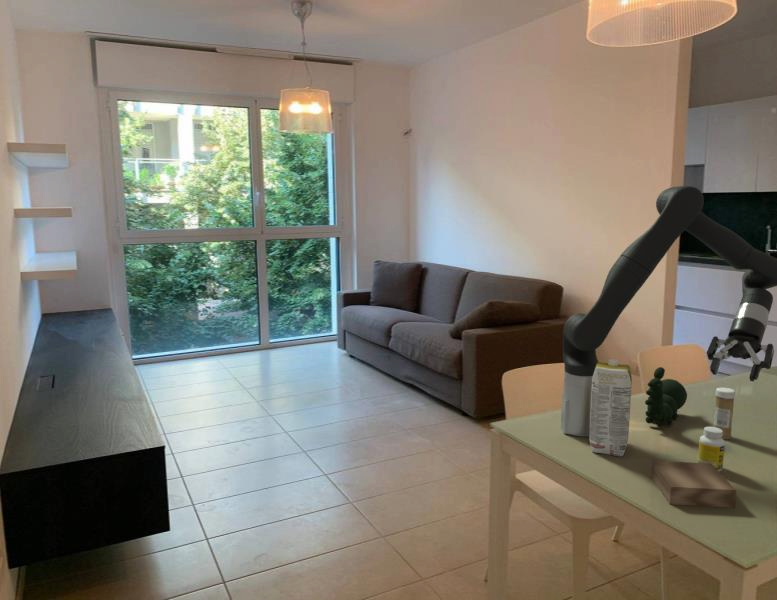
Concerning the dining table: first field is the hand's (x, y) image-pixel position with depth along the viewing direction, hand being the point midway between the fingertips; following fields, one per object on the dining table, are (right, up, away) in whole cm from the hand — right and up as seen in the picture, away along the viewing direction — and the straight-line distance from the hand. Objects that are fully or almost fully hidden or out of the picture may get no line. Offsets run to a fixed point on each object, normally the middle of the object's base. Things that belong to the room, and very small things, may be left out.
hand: (732, 376), depth 148 cm
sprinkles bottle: (+5, -19, +14) cm, 24 cm away
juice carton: (-29, -20, +6) cm, 36 cm away
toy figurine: (-5, -17, +27) cm, 32 cm away
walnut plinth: (-19, -24, -16) cm, 34 cm away
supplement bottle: (-8, -22, -5) cm, 24 cm away
